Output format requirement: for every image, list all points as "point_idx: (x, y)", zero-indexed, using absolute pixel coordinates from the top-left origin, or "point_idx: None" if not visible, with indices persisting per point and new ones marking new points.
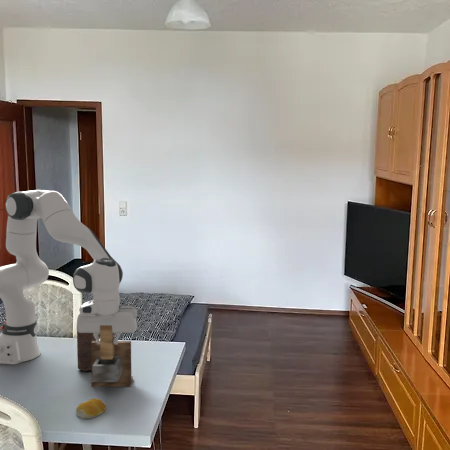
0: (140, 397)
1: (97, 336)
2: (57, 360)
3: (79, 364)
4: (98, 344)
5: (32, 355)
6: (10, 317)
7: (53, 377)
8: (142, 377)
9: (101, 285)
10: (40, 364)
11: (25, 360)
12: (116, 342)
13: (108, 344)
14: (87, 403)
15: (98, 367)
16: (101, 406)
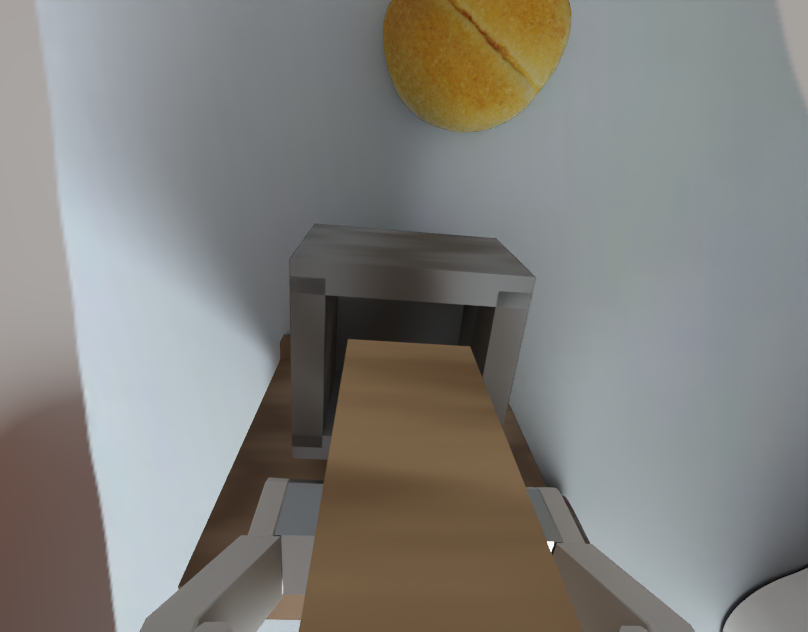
0: (197, 208)
1: (594, 621)
2: (655, 579)
3: (573, 516)
4: (536, 488)
5: (770, 606)
6: None
7: (677, 444)
8: (238, 426)
9: None
10: (727, 551)
11: (791, 577)
12: (264, 502)
13: (386, 455)
14: None
15: (476, 267)
16: (406, 1)
